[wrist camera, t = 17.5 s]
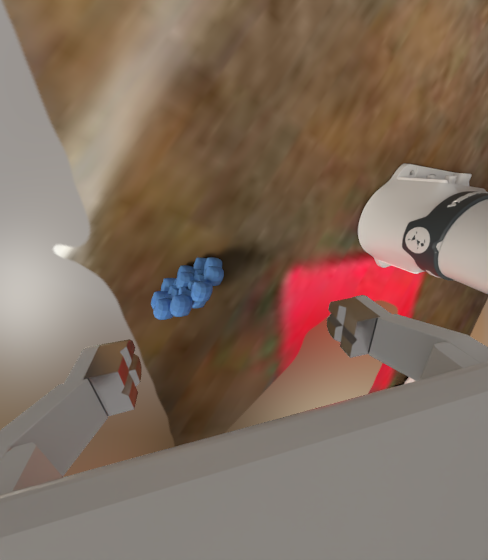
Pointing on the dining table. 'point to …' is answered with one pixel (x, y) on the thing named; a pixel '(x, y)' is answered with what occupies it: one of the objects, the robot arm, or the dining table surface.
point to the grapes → (187, 288)
